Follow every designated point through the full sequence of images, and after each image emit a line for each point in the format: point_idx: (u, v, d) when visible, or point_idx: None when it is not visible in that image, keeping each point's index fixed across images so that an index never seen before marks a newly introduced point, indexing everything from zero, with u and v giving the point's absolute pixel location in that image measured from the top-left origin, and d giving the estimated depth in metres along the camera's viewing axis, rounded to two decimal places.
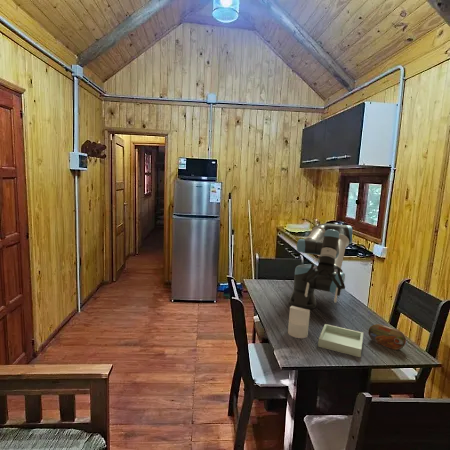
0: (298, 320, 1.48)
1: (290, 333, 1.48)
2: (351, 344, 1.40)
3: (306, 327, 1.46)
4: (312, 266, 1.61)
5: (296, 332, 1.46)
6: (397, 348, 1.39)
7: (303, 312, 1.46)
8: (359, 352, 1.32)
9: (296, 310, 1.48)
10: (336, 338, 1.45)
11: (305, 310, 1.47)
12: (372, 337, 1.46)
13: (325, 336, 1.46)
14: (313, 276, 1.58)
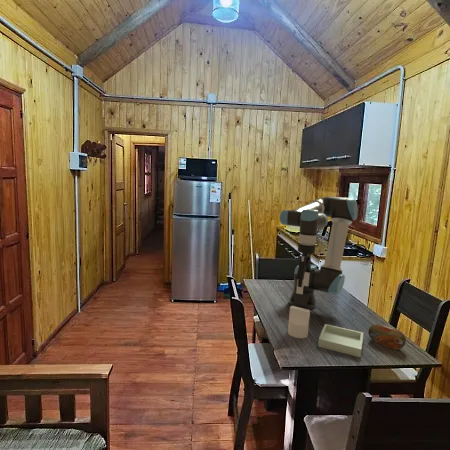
0: (298, 320, 1.48)
1: (290, 333, 1.48)
2: (351, 344, 1.40)
3: (306, 327, 1.46)
4: None
5: (296, 332, 1.46)
6: (397, 348, 1.39)
7: (303, 312, 1.46)
8: (359, 352, 1.32)
9: (296, 310, 1.48)
10: (336, 338, 1.45)
11: (305, 310, 1.47)
12: (372, 337, 1.46)
13: (325, 336, 1.46)
14: None
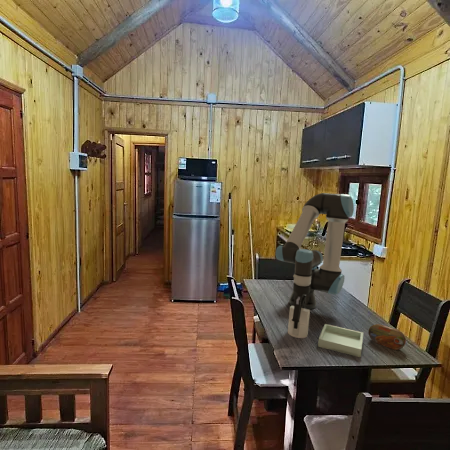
0: None
1: (290, 333, 1.48)
2: (351, 344, 1.40)
3: (306, 327, 1.46)
4: None
5: None
6: (397, 348, 1.39)
7: (303, 312, 1.46)
8: (359, 352, 1.32)
9: None
10: (336, 338, 1.45)
11: (305, 310, 1.47)
12: (372, 337, 1.46)
13: (325, 336, 1.46)
14: None
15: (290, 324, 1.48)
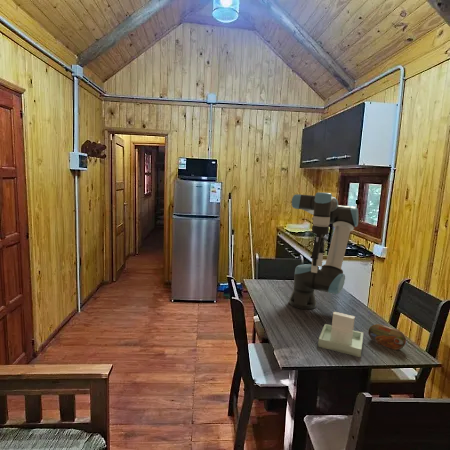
0: (342, 326, 1.40)
1: (334, 340, 1.40)
2: (351, 344, 1.40)
3: (351, 334, 1.39)
4: None
5: (340, 340, 1.38)
6: (397, 348, 1.39)
7: (348, 319, 1.39)
8: (359, 352, 1.32)
9: (340, 316, 1.40)
10: None
11: (350, 316, 1.40)
12: (372, 337, 1.46)
13: (325, 336, 1.46)
14: None
15: (334, 331, 1.40)
